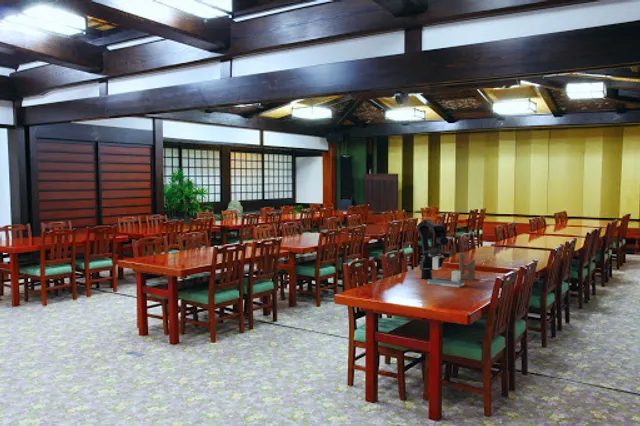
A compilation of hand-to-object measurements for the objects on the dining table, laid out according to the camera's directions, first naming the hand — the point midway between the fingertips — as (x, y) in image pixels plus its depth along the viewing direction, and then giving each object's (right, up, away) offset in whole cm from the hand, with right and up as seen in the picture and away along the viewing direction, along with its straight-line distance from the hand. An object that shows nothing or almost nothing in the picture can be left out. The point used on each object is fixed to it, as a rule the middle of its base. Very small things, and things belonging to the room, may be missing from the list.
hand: (437, 266), depth 354 cm
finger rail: (+5, -12, -3) cm, 13 cm away
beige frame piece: (+24, -11, +16) cm, 31 cm away
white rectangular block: (0, -2, 0) cm, 2 cm away
